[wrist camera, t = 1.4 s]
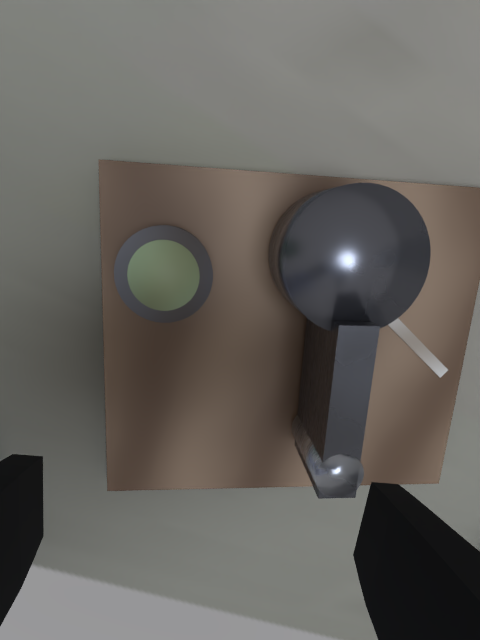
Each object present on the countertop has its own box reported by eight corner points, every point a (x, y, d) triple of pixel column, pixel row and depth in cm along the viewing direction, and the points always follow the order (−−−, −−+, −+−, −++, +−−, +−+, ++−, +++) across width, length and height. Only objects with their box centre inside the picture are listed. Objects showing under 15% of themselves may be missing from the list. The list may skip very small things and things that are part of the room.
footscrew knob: (273, 185, 15) (297, 174, 12) (396, 194, 16) (456, 185, 12) (254, 443, 18) (269, 499, 14) (361, 442, 18) (401, 496, 15)
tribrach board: (111, 477, 19) (100, 512, 16) (104, 163, 15) (88, 153, 13) (427, 471, 21) (455, 502, 18) (481, 190, 17) (523, 186, 15)
